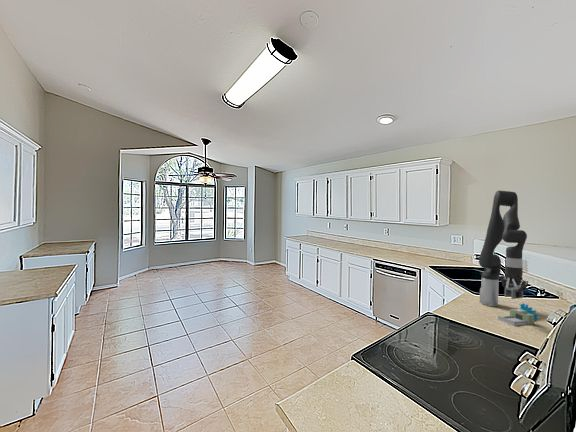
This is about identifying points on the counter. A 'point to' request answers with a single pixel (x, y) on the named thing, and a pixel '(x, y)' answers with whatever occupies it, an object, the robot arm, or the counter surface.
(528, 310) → the gear
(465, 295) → the counter surface
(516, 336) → the counter surface
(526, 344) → the counter surface
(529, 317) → the drawer with ball knob
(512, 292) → the grey lidded bin
